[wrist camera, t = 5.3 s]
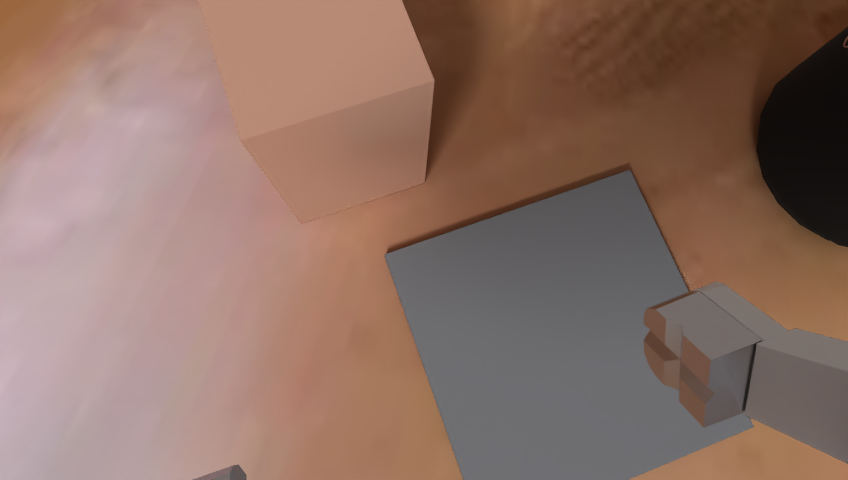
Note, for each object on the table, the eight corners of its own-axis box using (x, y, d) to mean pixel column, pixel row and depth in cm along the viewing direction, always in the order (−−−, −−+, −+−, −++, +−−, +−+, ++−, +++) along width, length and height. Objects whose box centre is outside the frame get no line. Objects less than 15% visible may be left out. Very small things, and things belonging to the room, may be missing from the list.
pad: (483, 536, 22) (485, 539, 22) (384, 256, 25) (384, 254, 25) (748, 425, 24) (753, 426, 23) (626, 172, 26) (629, 169, 26)
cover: (300, 223, 25) (240, 140, 16) (264, 110, 27) (189, -27, 17) (424, 183, 26) (434, 80, 17) (382, 74, 27) (371, -76, 18)
